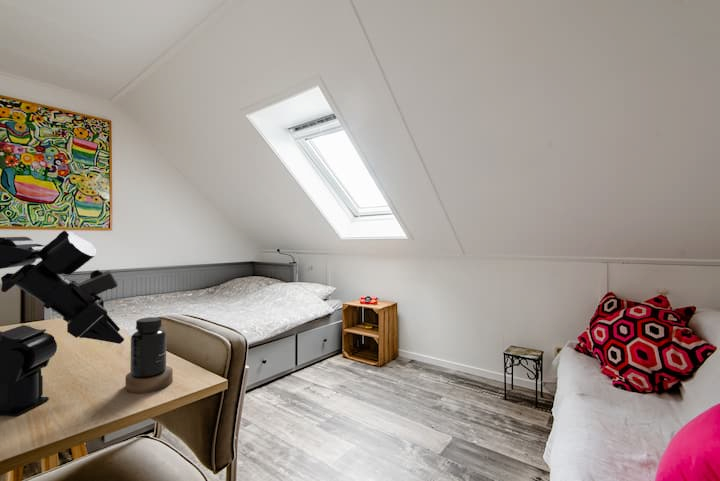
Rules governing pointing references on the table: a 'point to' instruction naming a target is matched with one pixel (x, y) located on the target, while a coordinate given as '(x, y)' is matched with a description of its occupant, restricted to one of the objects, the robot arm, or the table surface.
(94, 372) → the table surface
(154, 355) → the supplement bottle
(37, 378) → the robot arm
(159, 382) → the walnut stand
